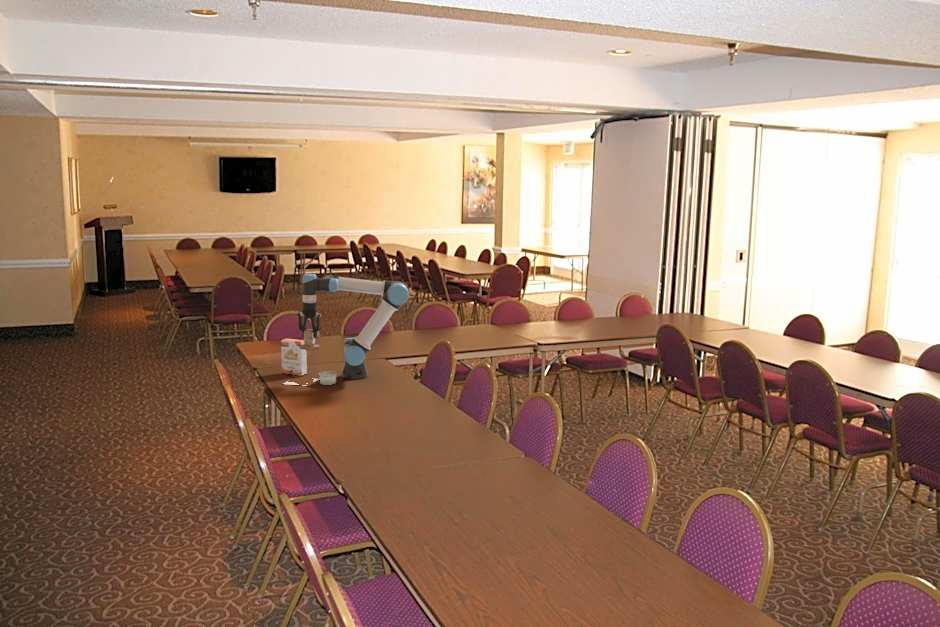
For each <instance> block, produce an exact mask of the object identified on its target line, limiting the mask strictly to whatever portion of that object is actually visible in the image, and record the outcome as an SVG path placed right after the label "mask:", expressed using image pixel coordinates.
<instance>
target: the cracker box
mask: <svg viewBox="0 0 940 627" xmlns="http://www.w3.org/2000/svg"><path fill="white" fill-rule="evenodd" d="M280 344H281V345H280V347H281V349H280V350H281V351H280V352H281V353H280V354H281V355H280V356H281V374H282V373H286V374H294V375H304V374H307V375H308V364H307V363H308V361H307V359H308V358H307V356H308V355H307V350H303V349H300V345H302V344H304V339H297V338H296V339H293V338H283V339H281V340H280ZM286 374H285V375H286ZM294 375H293V376H294ZM304 376H305V375H304Z"/></svg>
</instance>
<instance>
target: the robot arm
mask: <svg viewBox="0 0 940 627" xmlns="http://www.w3.org/2000/svg"><path fill="white" fill-rule="evenodd" d="M301 283H302V286H301V287H302V311H300V312H297V317H298V330H299V331H301V332H302V334H301V336H302V338H304V330H307V326H308V321H309V320H310V323H311V329H313V332H312V344H314V343H315V344H316V338H317V332H319V331H320V330H321V317H322V313H318V311H317V292H322V293H323V292H324V293H326V292H328V293H335V292H338V291H343V292H344V291H346V292H353V293H363V294H370V295H380V296H381V303H380V304H379V306H378V307H377V309H376V310H375V312H374V314H373V315H371V317H370V319H369V320H368V321H367V323H366V324H365V325H364V327H363V328H362V330H361V331H360V332H359V334H358V336H354V337H346V338H345V339H344V340H343V341H344V342H343V343H344V345H343V346H344V351H343V358H344V365H343V368H342V371H341V378H343V379H345V378H347V380H361V378H363V379H366V378H368V377H369V372H368V369H367V366H366V361H365V360H366V357H367V355H368V353H369V352H370V351H371V349H372V348H371V345H372V343H373V342H374V341H375V339H376V338H377V336H378V335H379V334H380V332H381V330H382V329H383V328H384V326H386V324H387V323H388V320H389V319H390V318H391V317H392V315H393V314H394V312H396V311H399V310H401V307H402V306H403V305H404V304H405V303H406V302H407V301H408V299H409V297H410V293H409V289H408V286H407V285H406V284H405V283H404V282H402V281H401V280H383V281H377V280H369V279H359V278H353V277H343V276H337V275H336V276H335V275H332V274H328V275H327V274H325V276H323V277H322V278H321V277H317V274H314V273H305V274H303V275H302V282H301Z"/></svg>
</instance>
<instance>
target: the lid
mask: <svg viewBox="0 0 940 627" xmlns="http://www.w3.org/2000/svg"><path fill="white" fill-rule="evenodd" d="M312 332H313V328H311V329H310V328H306V330H304V337H303V340H304V344H302V345H300V349H303V350H306V351H313V350H314V351H315V350H319V349H320V348H321V347H320V345H319V344H316V342H315V343H314V344H312Z"/></svg>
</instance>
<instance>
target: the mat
mask: <svg viewBox="0 0 940 627" xmlns="http://www.w3.org/2000/svg"><path fill="white" fill-rule="evenodd" d="M313 379H314V380H313V382H316V381H318V380H320V378H313ZM288 381H289V380H287V381H285V382H283V383H282V384H284V385H283V386H291V385H299V384H297V383H295V382H288ZM318 382H319V381H318ZM316 383H317V382H316ZM306 384H308V383H306ZM305 386H307V385H302V386H301V387H305Z"/></svg>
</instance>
